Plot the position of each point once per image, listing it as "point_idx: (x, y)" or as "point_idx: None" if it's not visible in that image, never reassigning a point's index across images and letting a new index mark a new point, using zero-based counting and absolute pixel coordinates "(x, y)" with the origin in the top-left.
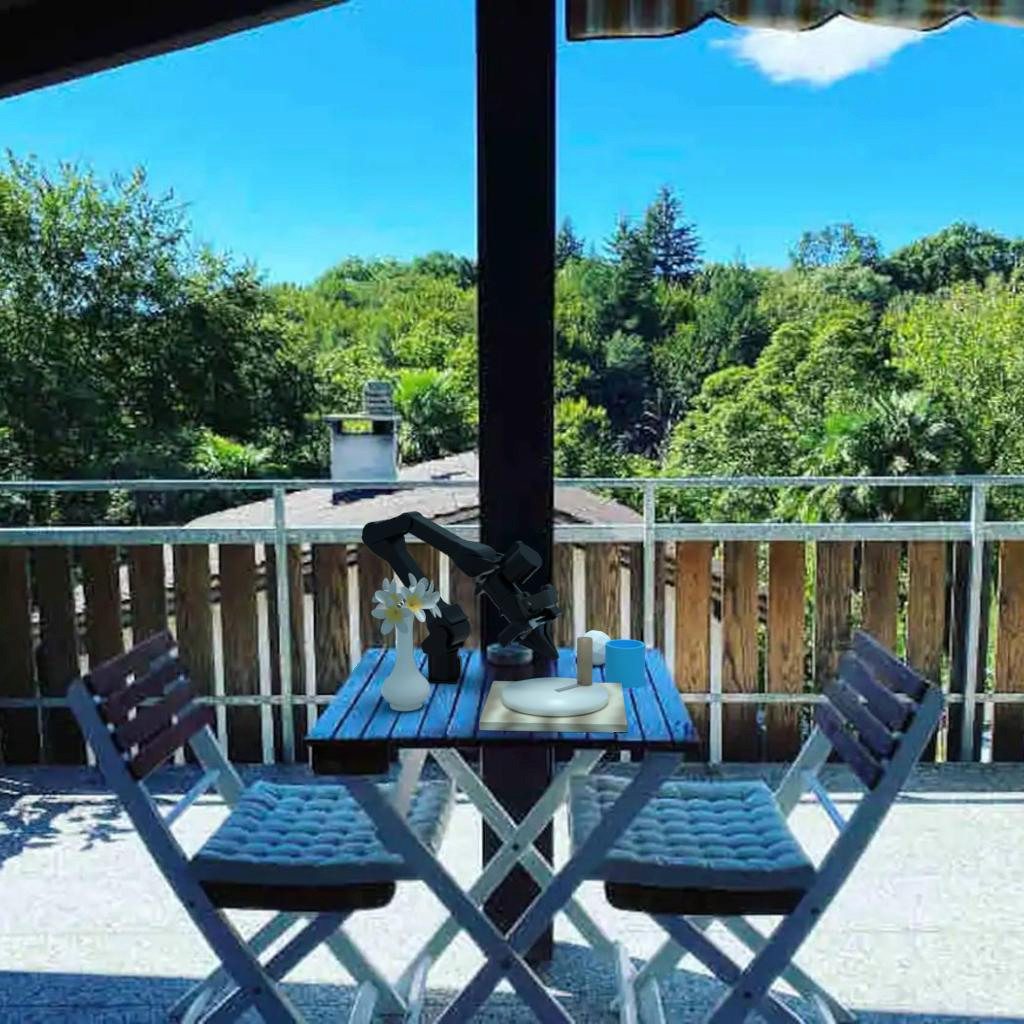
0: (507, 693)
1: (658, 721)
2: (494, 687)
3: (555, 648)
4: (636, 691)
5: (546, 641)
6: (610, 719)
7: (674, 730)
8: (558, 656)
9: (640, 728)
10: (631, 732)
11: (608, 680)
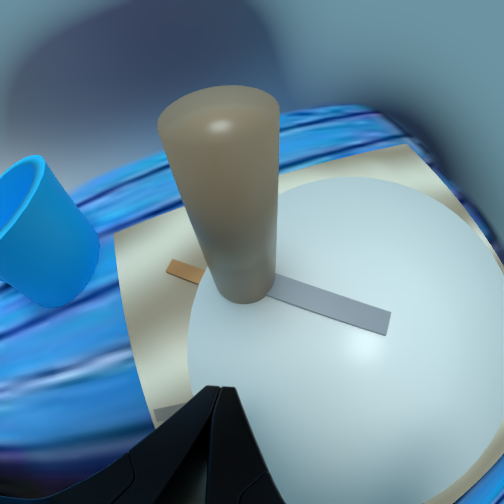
0: (475, 446)
1: (313, 131)
2: None
3: (181, 418)
4: (124, 214)
5: (261, 491)
6: (407, 168)
7: (339, 112)
8: (219, 386)
9: (367, 144)
10: None
11: (75, 285)
